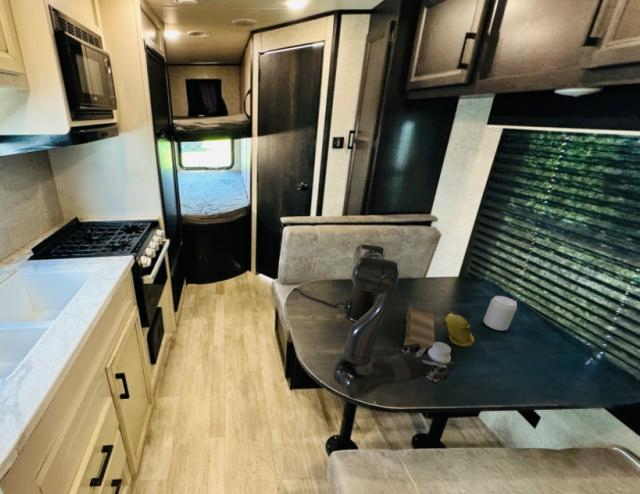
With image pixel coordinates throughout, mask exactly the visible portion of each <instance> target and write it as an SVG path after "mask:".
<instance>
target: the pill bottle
mask: <svg viewBox="0 0 640 494" xmlns="http://www.w3.org/2000/svg"><path fill="white" fill-rule="evenodd" d="M451 351H452V348H451V347H450V346H449V344H447V343H445V342H442V341H435V343H434V345H433V348H430V349H429V351H428V353H427V356H425V357H426V358H427V359H428V360H429V361H430V362H436V363H437V364H442V365H444V364H446V363H450V362H451V361H452V356H451ZM431 369H433V366H432V368H431ZM438 369H441V368H438ZM425 377H427V378H428V379H429V380H431V381H432V379H431V378H429V377H428V376H425Z"/></svg>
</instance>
